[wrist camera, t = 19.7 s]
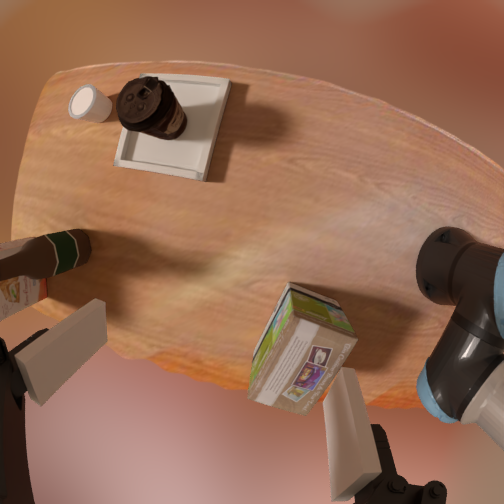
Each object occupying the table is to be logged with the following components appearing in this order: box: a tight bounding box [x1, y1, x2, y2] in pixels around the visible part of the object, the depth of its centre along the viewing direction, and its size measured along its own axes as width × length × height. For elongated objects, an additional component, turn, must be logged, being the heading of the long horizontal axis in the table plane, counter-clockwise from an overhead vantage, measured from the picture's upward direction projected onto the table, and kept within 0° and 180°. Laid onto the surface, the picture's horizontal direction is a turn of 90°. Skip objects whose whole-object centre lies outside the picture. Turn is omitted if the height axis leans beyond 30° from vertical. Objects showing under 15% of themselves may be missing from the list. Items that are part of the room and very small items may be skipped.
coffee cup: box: [116, 76, 187, 140], centre depth 35 cm, size 9×8×13 cm
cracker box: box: [0, 237, 47, 321], centre depth 39 cm, size 14×6×21 cm, turn 171°
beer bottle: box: [0, 229, 91, 281], centre depth 36 cm, size 8×8×24 cm
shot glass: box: [68, 84, 112, 123], centre depth 39 cm, size 7×7×7 cm
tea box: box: [248, 282, 358, 416], centre depth 40 cm, size 15×10×15 cm, turn 158°
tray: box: [113, 74, 232, 182], centre depth 41 cm, size 17×18×2 cm
